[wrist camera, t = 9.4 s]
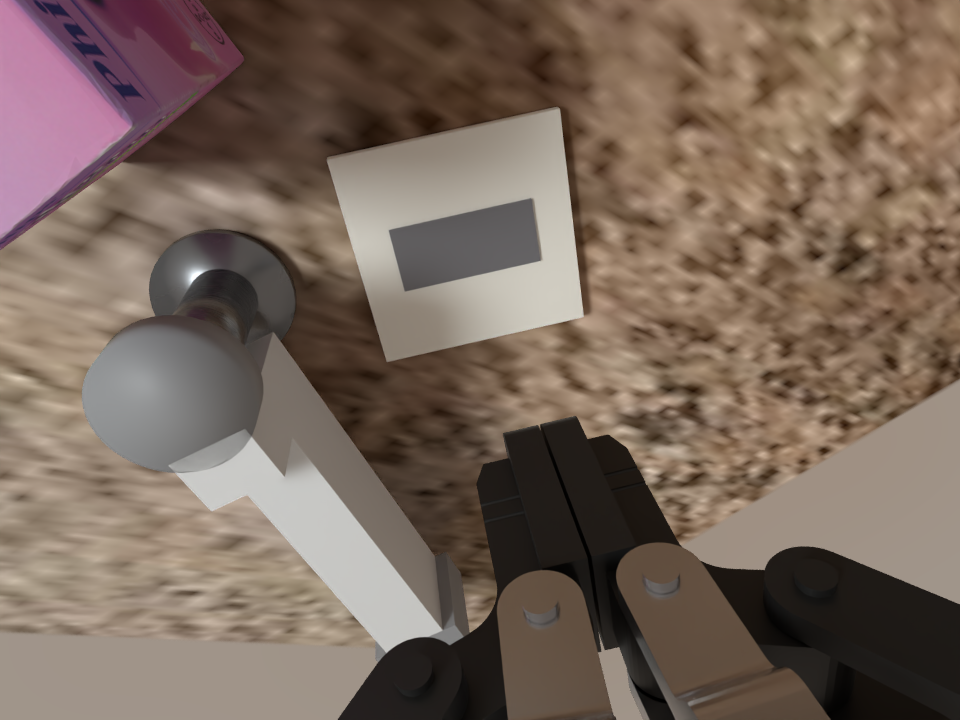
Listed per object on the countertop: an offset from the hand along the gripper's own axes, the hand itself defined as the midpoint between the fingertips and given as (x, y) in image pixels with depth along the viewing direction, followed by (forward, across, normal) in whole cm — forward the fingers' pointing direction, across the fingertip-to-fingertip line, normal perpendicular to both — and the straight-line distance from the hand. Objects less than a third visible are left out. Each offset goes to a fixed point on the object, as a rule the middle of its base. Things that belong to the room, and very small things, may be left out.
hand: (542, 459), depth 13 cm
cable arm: (+12, +7, +7) cm, 15 cm away
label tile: (+13, 0, 0) cm, 13 cm away
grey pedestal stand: (+13, +9, 0) cm, 16 cm away
